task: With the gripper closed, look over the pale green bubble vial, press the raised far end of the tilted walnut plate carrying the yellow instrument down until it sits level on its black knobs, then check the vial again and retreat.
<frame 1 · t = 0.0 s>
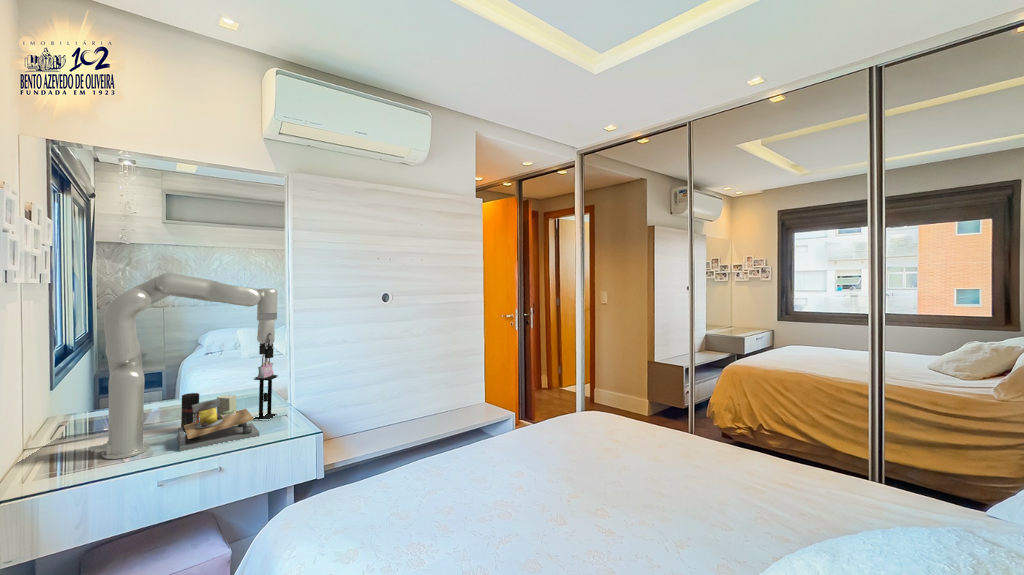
hand: (266, 356, 186), 31 cm above the table, tool pointing down, fingers open, 9 cm apart
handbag: (265, 418, 199), on the table
deodorant: (190, 430, 180), on the table
skincare box: (226, 423, 190), on the table
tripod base: (218, 437, 174), on the table
level plate: (217, 412, 173), point 11 cm above the table, hinge at -8.0°
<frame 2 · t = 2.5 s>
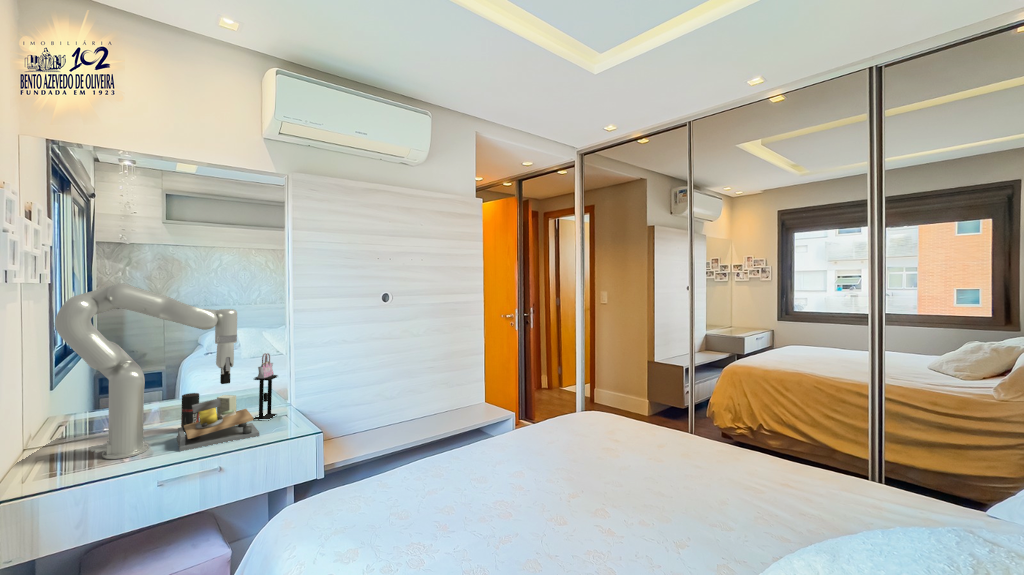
hand: (225, 383, 178), 21 cm above the table, tool pointing down, fingers closed
nothing on the table moved.
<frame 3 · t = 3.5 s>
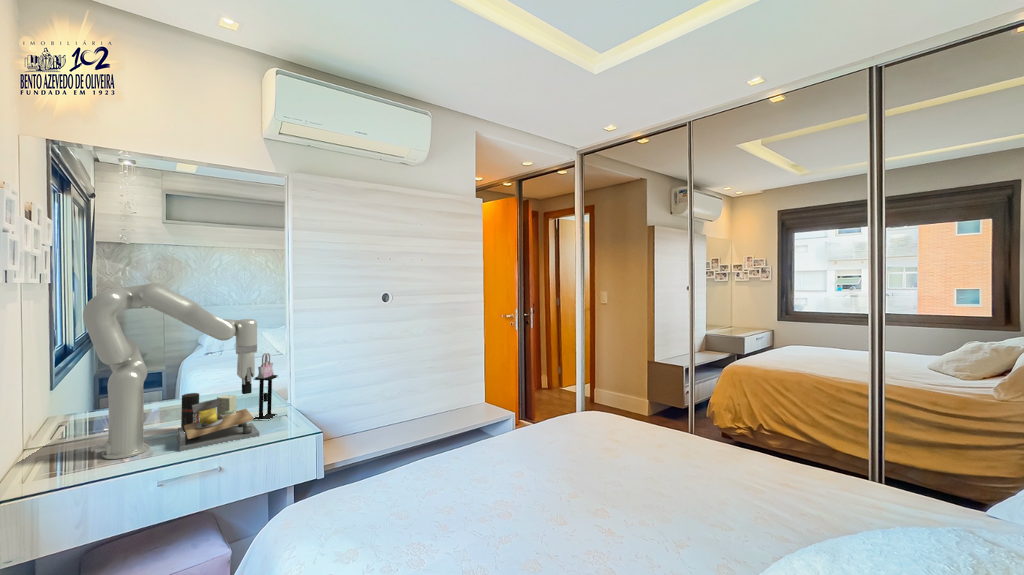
hand: (246, 393, 178), 17 cm above the table, tool pointing down, fingers closed
nothing on the table moved.
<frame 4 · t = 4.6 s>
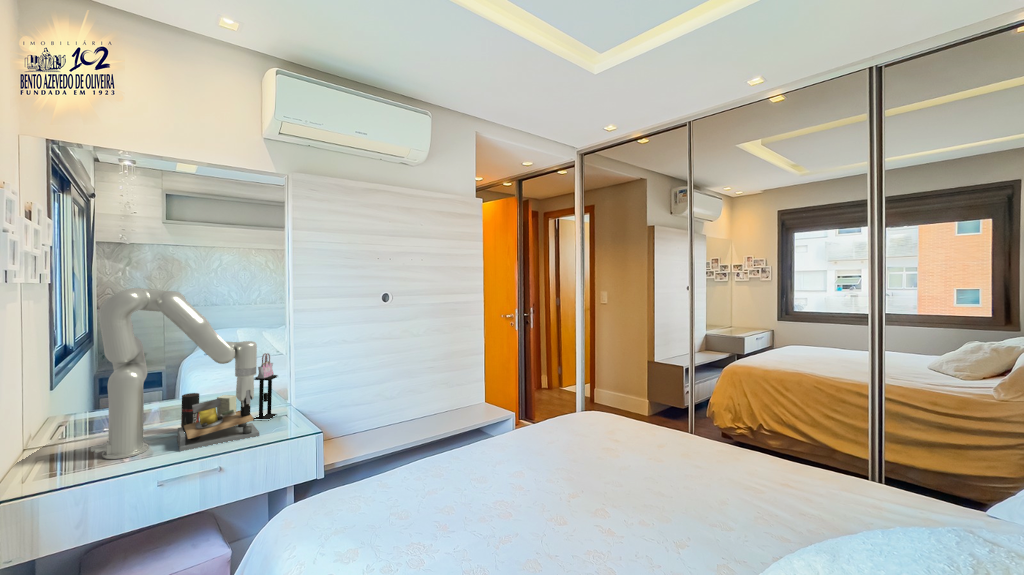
hand: (245, 415, 178), 8 cm above the table, tool pointing down, fingers closed
level plate: (217, 412, 173), point 11 cm above the table, hinge at -7.7°, touching gripper
everything else where it was.
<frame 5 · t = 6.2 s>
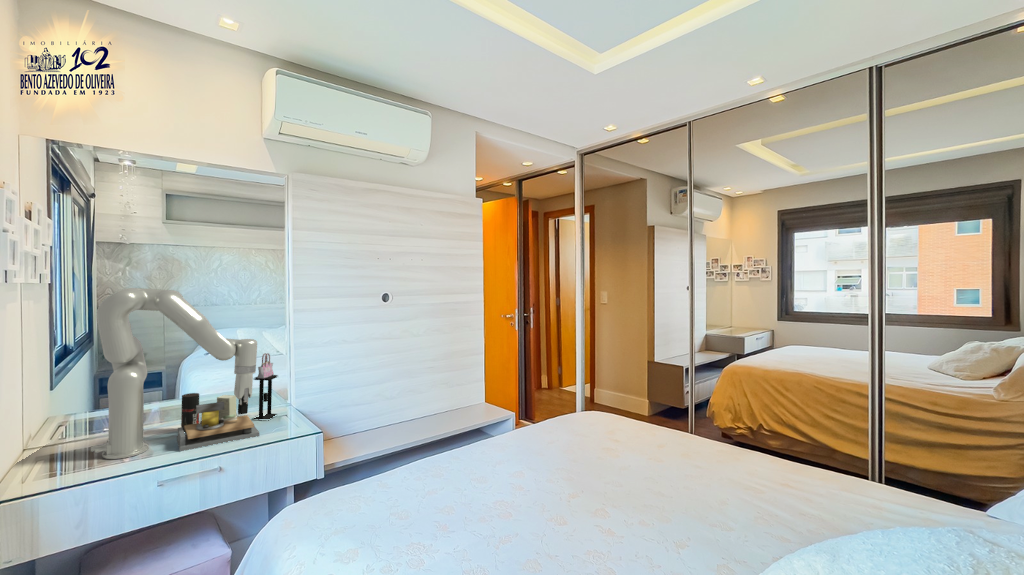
hand: (242, 413, 177), 9 cm above the table, tool pointing down, fingers closed
level plate: (219, 415, 174), point 9 cm above the table, hinge at -0.4°
everything else where it was.
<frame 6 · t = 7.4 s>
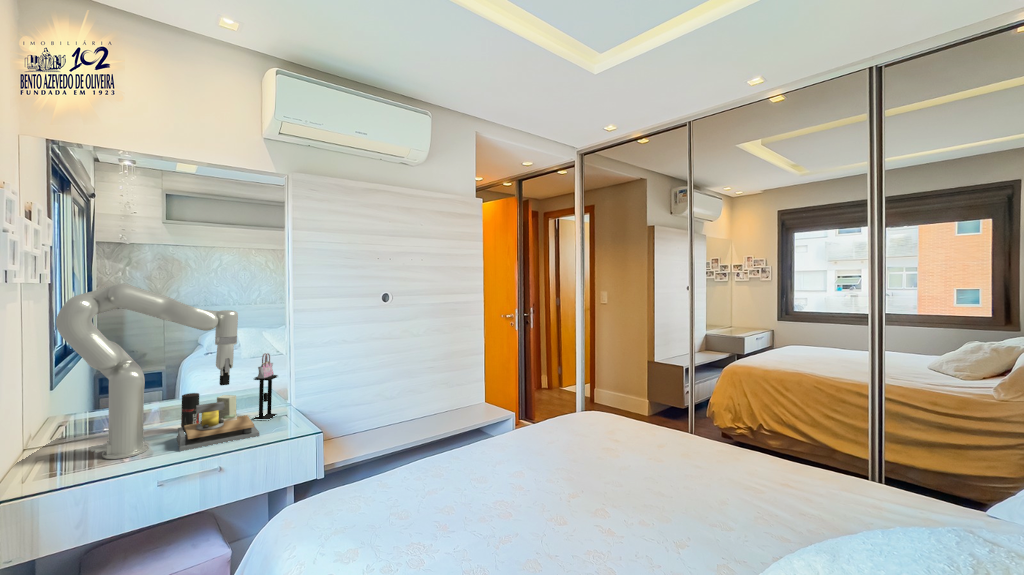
hand: (224, 384, 177), 21 cm above the table, tool pointing down, fingers closed
nothing on the table moved.
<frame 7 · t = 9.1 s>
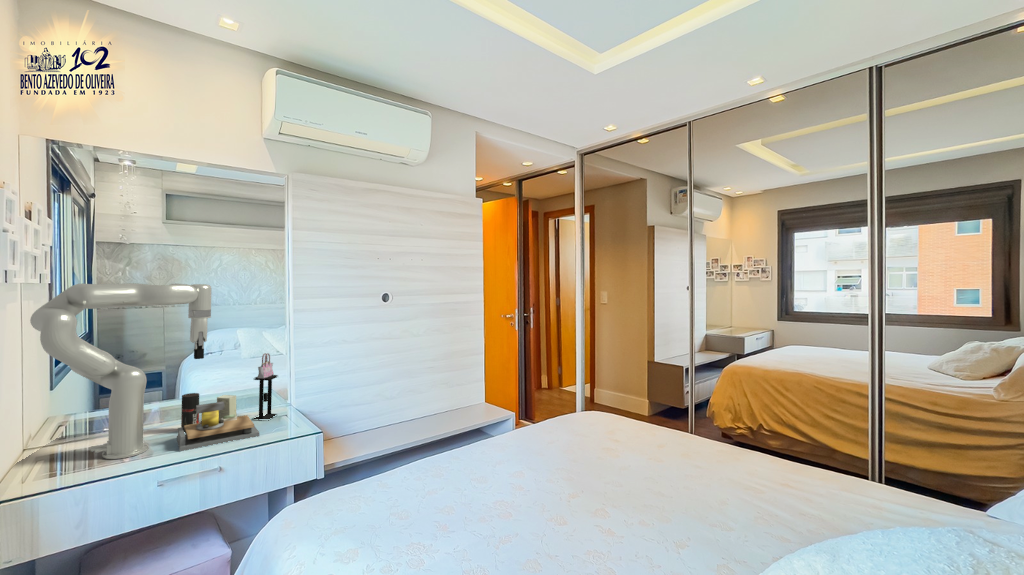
hand: (198, 358, 177), 31 cm above the table, tool pointing down, fingers closed
nothing on the table moved.
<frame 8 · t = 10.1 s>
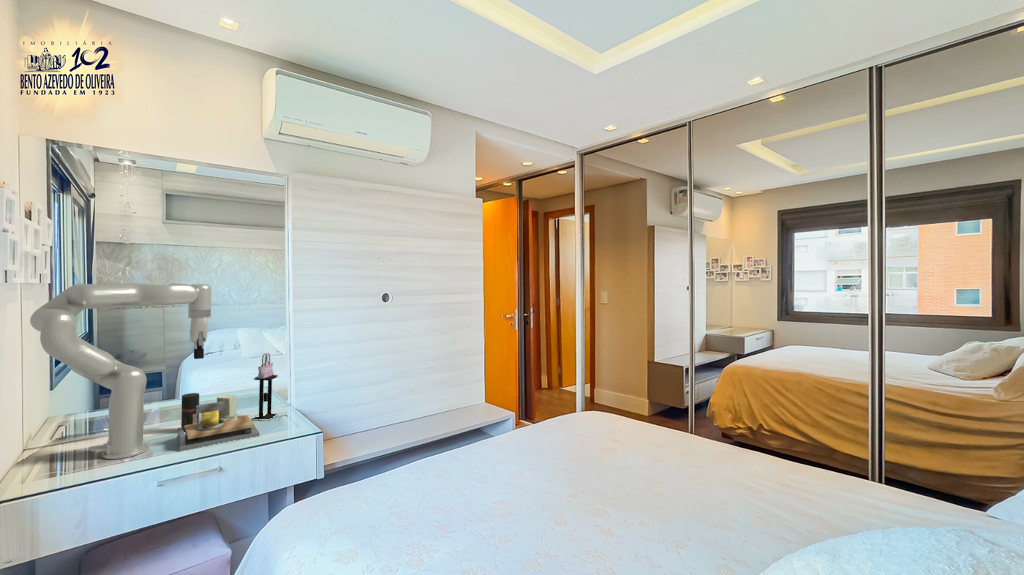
hand: (198, 358, 177), 31 cm above the table, tool pointing down, fingers closed
nothing on the table moved.
at the end: level plate at +0° (first picture: -8°); skincare box moved 0.2 cm from its start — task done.
